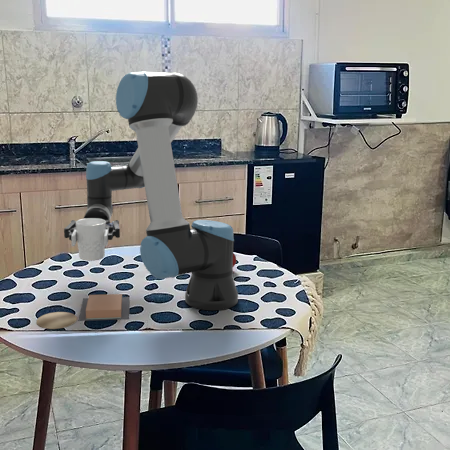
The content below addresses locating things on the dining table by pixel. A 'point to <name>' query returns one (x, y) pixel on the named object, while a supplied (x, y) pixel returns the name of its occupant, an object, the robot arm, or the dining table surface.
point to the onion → (234, 259)
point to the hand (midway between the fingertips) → (89, 241)
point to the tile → (104, 306)
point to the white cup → (91, 238)
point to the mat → (123, 316)
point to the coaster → (56, 320)
